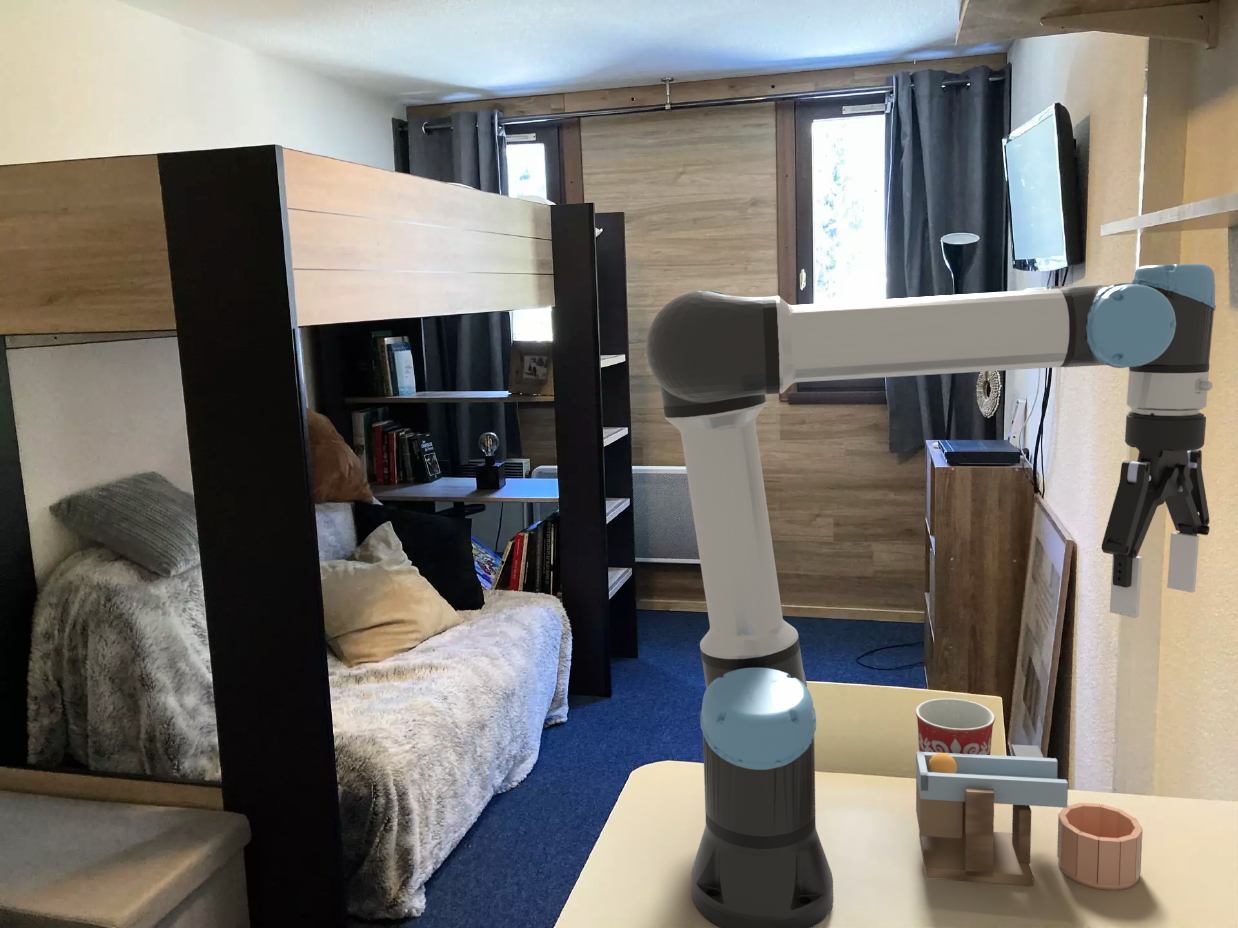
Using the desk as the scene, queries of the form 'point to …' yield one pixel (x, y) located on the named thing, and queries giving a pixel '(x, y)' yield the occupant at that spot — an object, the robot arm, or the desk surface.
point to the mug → (954, 727)
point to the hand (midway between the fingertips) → (1153, 601)
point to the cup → (1099, 846)
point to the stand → (982, 845)
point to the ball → (942, 764)
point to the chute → (984, 786)
